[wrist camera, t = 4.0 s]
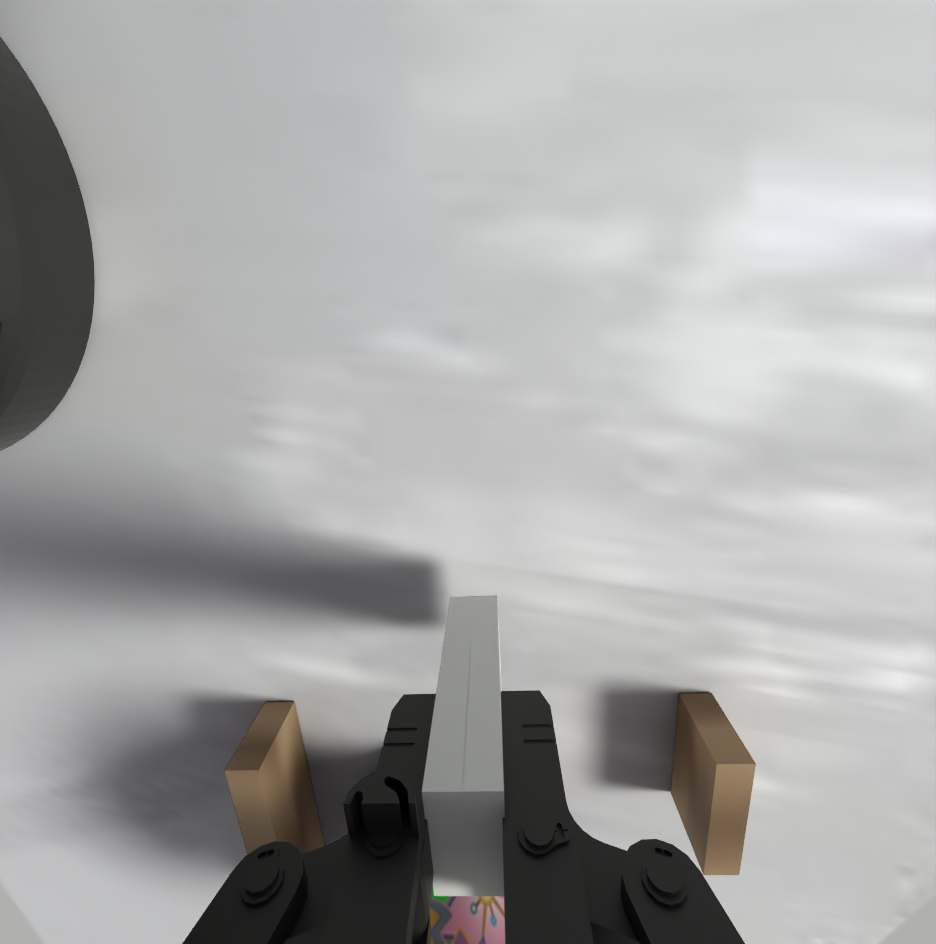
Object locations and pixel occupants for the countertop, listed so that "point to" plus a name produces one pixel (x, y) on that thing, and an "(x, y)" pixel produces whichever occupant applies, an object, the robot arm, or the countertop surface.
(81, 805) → the countertop surface
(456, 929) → the mug
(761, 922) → the countertop surface
